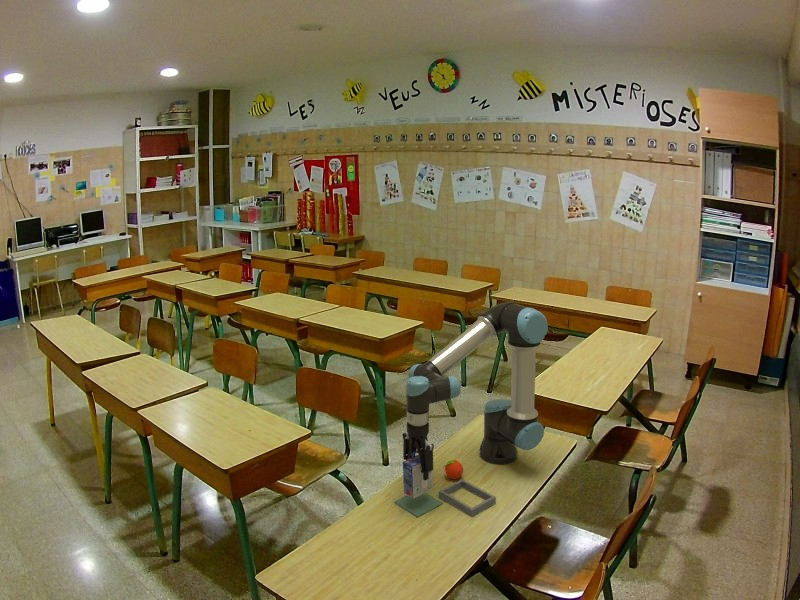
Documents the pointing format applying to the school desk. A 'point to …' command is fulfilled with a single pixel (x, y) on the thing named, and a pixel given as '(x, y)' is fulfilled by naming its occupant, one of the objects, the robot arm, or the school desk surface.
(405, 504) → the mat
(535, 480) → the school desk surface
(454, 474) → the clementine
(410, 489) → the ink cartridge box
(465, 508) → the grey rectangular frame
